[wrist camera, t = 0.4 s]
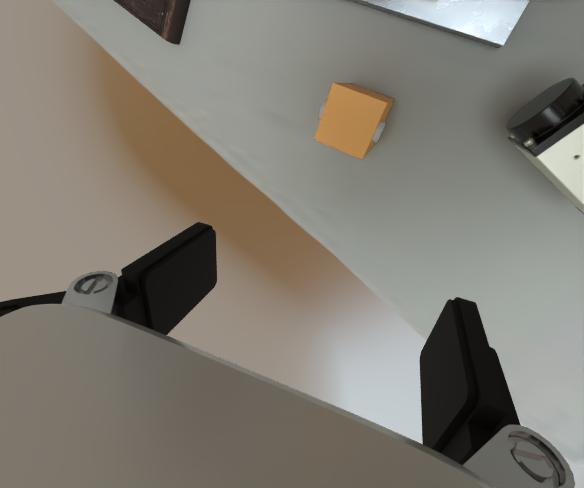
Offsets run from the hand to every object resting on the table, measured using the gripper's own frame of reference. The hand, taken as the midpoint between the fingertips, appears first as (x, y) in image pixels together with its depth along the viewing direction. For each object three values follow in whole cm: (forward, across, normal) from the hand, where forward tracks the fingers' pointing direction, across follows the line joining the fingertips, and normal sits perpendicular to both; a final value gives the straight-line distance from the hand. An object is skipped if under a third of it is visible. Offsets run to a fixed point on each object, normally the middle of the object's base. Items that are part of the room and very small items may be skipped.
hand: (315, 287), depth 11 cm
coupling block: (+27, +3, -4) cm, 27 cm away
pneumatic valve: (+26, -16, -5) cm, 31 cm away
